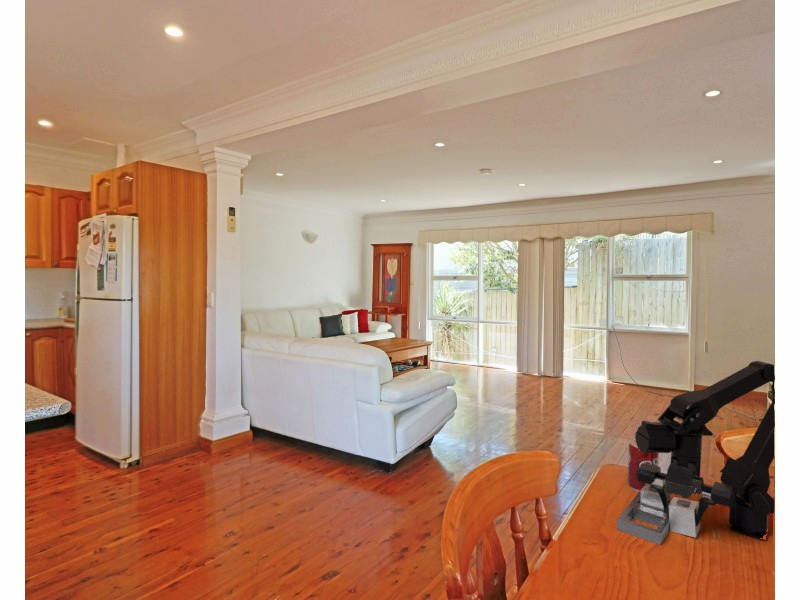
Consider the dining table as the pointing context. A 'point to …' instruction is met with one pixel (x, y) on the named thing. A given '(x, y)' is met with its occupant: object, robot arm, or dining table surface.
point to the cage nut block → (683, 516)
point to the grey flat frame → (647, 516)
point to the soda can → (638, 464)
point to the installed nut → (651, 498)
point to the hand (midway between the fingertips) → (682, 520)
